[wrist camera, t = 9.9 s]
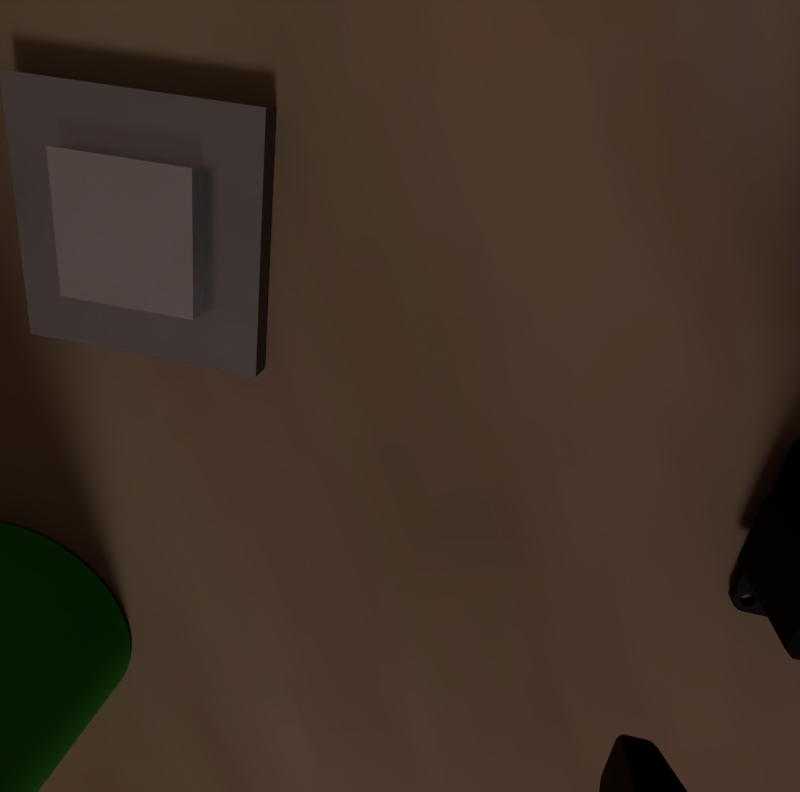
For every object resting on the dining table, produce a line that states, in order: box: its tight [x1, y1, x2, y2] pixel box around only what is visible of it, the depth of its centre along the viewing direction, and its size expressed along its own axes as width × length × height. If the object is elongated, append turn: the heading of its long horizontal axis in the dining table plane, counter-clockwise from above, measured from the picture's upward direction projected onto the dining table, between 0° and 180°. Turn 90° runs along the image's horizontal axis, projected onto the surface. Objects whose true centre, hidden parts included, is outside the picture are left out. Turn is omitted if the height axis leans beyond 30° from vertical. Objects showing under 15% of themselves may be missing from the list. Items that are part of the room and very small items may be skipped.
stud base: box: [0, 69, 276, 377], centre depth 19 cm, size 8×8×2 cm
